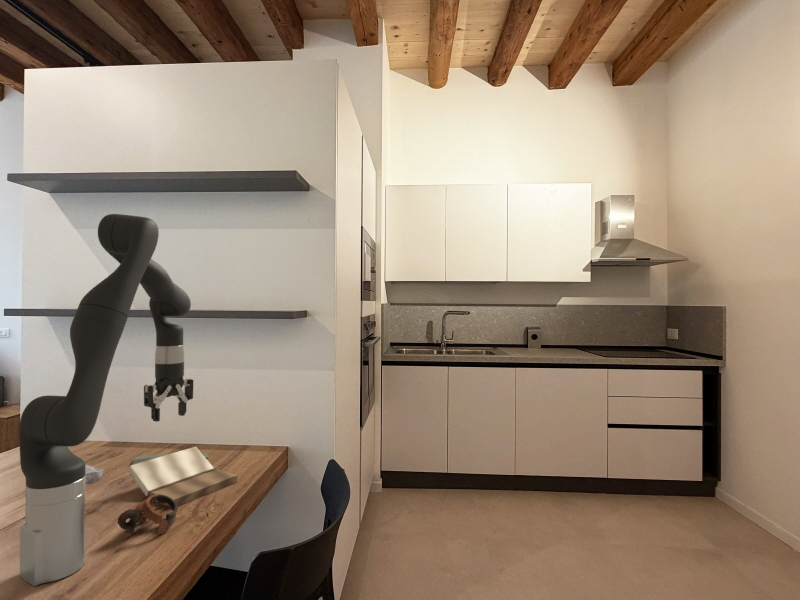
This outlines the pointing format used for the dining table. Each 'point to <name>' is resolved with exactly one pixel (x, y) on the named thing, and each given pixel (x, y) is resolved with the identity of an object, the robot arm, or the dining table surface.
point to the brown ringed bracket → (149, 514)
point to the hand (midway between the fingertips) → (169, 418)
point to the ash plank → (169, 469)
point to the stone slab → (149, 457)
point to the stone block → (92, 474)
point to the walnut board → (195, 486)
